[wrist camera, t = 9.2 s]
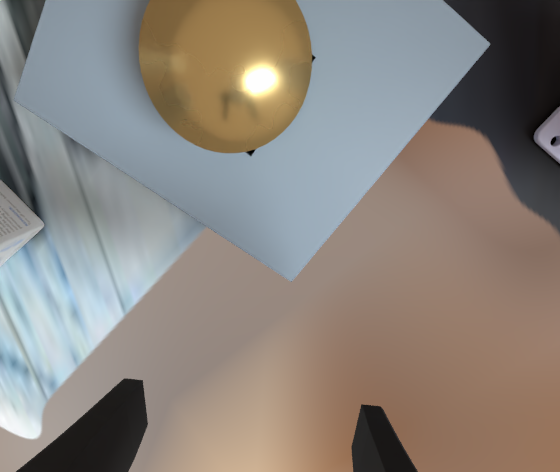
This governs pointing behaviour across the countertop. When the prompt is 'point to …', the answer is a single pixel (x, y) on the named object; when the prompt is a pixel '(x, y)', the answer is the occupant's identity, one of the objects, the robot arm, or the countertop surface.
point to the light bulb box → (15, 223)
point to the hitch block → (283, 149)
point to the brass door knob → (226, 69)
